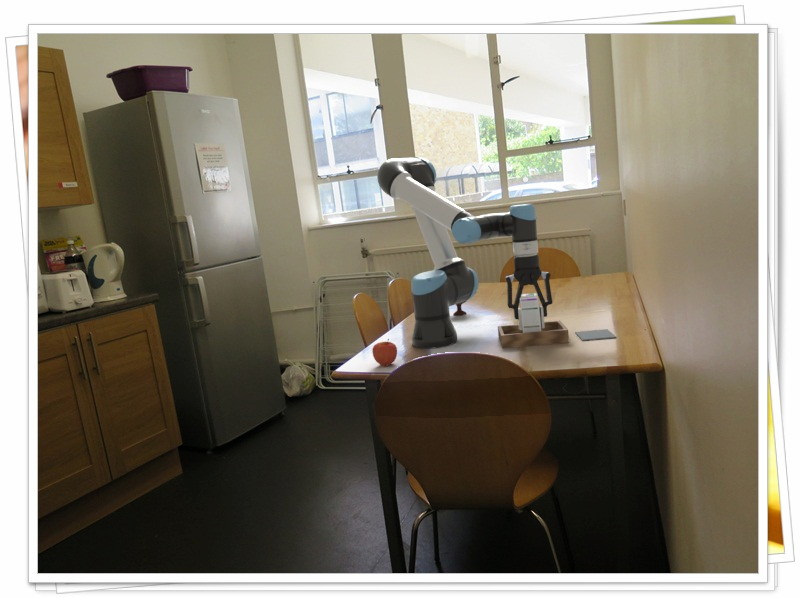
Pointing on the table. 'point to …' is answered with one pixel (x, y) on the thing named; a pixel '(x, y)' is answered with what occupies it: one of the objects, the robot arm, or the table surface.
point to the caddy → (533, 335)
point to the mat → (595, 335)
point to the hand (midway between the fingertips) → (531, 327)
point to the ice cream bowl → (459, 310)
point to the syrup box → (530, 313)
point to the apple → (384, 353)
